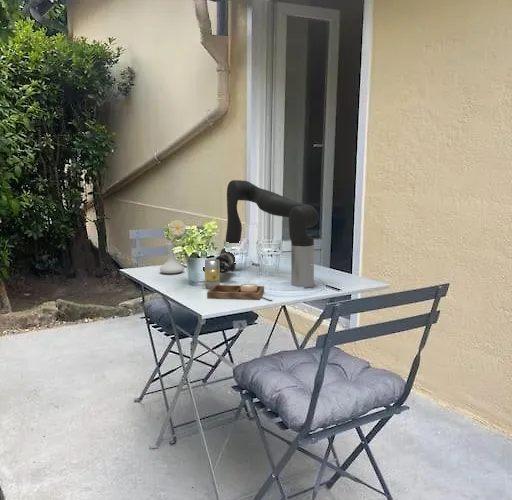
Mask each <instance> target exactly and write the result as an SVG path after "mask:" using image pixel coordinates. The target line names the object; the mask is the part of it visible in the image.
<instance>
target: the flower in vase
mask: <svg viewBox="0 0 512 500" xmlns="http://www.w3.org/2000/svg"><path fill="white" fill-rule="evenodd" d="M186 229H187V225H185V223H184V222H183V220H180V219H179V220H178V219H175V220H173V221H171V222H170V224H169V225H168V230H169V232H170V234H172V235H174V236H175V237H174V239H175V240H177V241H178V240H179V239H181V238H182V237H183V236H182V235H184V234H185V232H186ZM165 238H166V239H167V240H169V241H171V242H166V243H165V245H166V247H167V251H168V259H167V261H165V263H163V264H162V265H161V266H160V268H159V271H160V272H161V273H162V274H179V273H181V272H183V271H185V268H184V266H183V265H182V264H181V263H179V262H178V261H177V260H176V259H175V254H174V255H173V253H172V249H173V243H174V242H173V241H172V240H173V239H172V240H171V238H169V237H167V236H165ZM172 242H173V243H172Z"/></svg>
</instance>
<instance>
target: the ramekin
mask: <svg viewBox="0 0 512 500" xmlns="http://www.w3.org/2000/svg"><path fill="white" fill-rule="evenodd" d="M240 286H241V292H242V293H257V286H258V284H256V283H251V282H250V283H241V284H240Z"/></svg>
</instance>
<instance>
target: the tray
mask: <svg viewBox="0 0 512 500" xmlns="http://www.w3.org/2000/svg"><path fill="white" fill-rule="evenodd" d="M264 293H265V286H264V285H257V293H242V292H241V285H231V284H230V285H229V284H227V285H226V284H220V285H214V286H213V287H212V288H211V289H210V290H209V289H208V291H207V292H206V297H207V299H208V300H210V299H211V300H213V299H214V300H215V299H216V300H243V301H245V300H247V301H260V300H261V298H262V296H263V294H264Z"/></svg>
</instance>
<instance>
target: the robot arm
mask: <svg viewBox="0 0 512 500" xmlns="http://www.w3.org/2000/svg"><path fill="white" fill-rule="evenodd" d="M239 201H243V202H245V201H248V202H251V203H254V204H256V206H257V207H258V209H259V210H261V211H263V212H264V213H268V214H269V215H272V216H276V217H283V218H288V229H289V230H288V231H289V234H288V235H289V238H290V242H291V245H290V247H291V248H290V249H291V250H290V254H291V256H290V257H291V262H290V263H291V264H290V265H291V267H290V268H291V269H290V270H291V271H290V273H291V274H290V275H291V276H290V277H291V280H290V281H291V282H290V283H291V286H294V287H297V288H304V289H307V288H314V285H315V262H314V261H315V260H314V255H315V254H314V253H315V249H314V248H315V247H314V246H315V240H314V238H313V237H312V236H309V235H308V234H307V229H308V228H313V227H314V226H316V225H317V224H318V222H319V219H320V216H319V212H318V211H317V208H315V207H313V206H312V205H309V204H304V203H301V202H297V201H295V200H292V199H290V198H288V197H285V196H283V195H281V194H279V193H276V192H273V191H271V190H267V189H265V188H260V187H258V186H257V185H255V184H254V183H252V182H250V181H248V180H242V179H241V180H240V179H239V180H238V179H232V180H230V181H229V182H228V184H227V188H226V209H227V211H226V212H227V223H226V224H227V225H226V232H225V243H226V242H229V243H239V241H240V240H241V239H242V230H243V228H242V227H243V226H242V221H241V218H240V216H239V212H238V202H239ZM240 242H241V241H240ZM225 248H226V247H224V248H222V249H221V250H220V253H219V255H218V256H216V257H215V258H216V259H218V260H219V267H220V274H227V272H230V271H231V272H234V271H236V263H234V262H235V257H234V255H233V254H232V253H230V252H226V251H225ZM202 272H203V273H205V267H203V271H202Z"/></svg>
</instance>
